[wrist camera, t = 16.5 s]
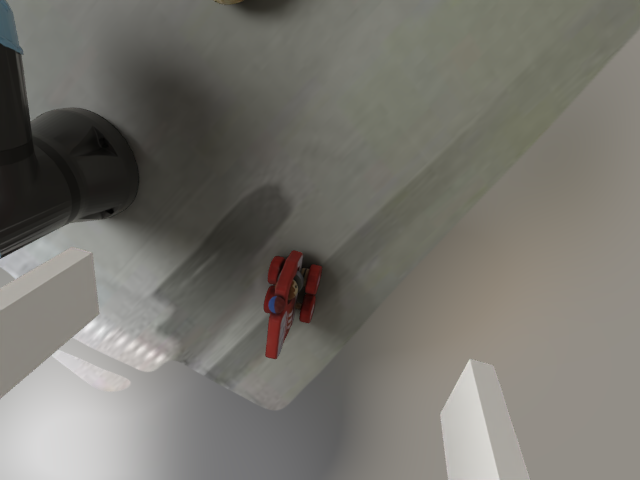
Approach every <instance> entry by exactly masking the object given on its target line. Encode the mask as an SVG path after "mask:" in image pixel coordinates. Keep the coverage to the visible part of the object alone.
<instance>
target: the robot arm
mask: <svg viewBox="0 0 640 480" xmlns="http://www.w3.org/2000/svg"><path fill="white" fill-rule="evenodd" d="M21 54H22V55H24V54H23V50H22V48H21V47H20V46H19V41H18V36H17V31H16V26H15V21H14V16H13V12H12V10H11V8H10V6H9V4H8V3H7V2H6V0H0V259H1V258H3V257H5V256H7V255H8V254H10V253H12V252H14V251H16V250H18V249H20V248H22V247H24V246H26V245H28V244H30V243H32V242H34V241H35V240H37V239H39V238H41V237H43V236H45V235H47V234H49V233H51V232H53V231H55V230H57V229H59V228H60V227H62V226H64V225H66V224H69V223H74V222H83V221H92V220H101V219H106V218H109V217H112V216H114V215H116V214H117V213H119V212H121V211H123V210H124V209H126V208H127V207H128V206H129V205H130V204H131V203H132V202H133V200H134V198H135V196H136V193H137V190H138V183H139V176H138V169H137V164H136V161H135V158H134V156H133V153H132V151H131V149H130V147H129V146H128V144H127V142H126V141H125V139H124V138H123V137H122V135H121V134H120V133H119V132H118V131H117V130H116V129H115V128H114V127H113V126H112V125H111V124H110V123H109V122H107V121H106V120H105V119H103V118H102V117H100V116H99V115H97V114H95V113H93V112H90V111H88V110H84V109H80V108H63V109H56V110H51V111H48V112H45V113H43V114H41V115H40V116H38V117H37V118H36V119H34V120H32V121H31V122H30V115H29V108H28V100H27V93H26V85H25V78H24V70H23V63H22V55H21ZM98 315H99V306H98V297H97V288H96V280H95V271H94V262H93V254H92V252H89V251H85V250H82V249H78V248H74V247H71V248H69V249H68V250H66V251H64V252H62V253H61V254H59V255H57V256H55V257H54V258H52V259H50V260H49V261H47V262H45V263H43V264H42V265H40V266H38V267H36V268H35V269H33V270H31V271H29V272H28V273H26V274H24V275H23V276H21V277H19V278H17V279H16V280H14V281H12V282H10V283H9V284H7V285H5V286H4V287H2V288H0V399H1V398H2V397H3V396H4V395H5V394H6V393H8V392H9V391H10V390H11V389H12V388H13V387H15V386H16V385H17V384H18V383H19V382H20V381H22V380H23V379H24V378H25V377H26V376H27V375H29V374H30V373H31V372H32V371H33V370H34V369H36V368H37V367H38V366H39V365H40V364H41V363H43V362H44V361H45V360H46V359H47V358H48V357H50V356H51V355H52V354H53V353H54V352H55V351H57V350H58V349H59V348H60V347H61V346H63V345H64V344H65V343H66V342H67V341H68V340H69V339H70V338H72V337H73V336H74V335H75V334H77V333H78V332H79V331H80V330H81V329H82V328H84V327H85V326H86V325H87V324H88V323H89V322H91V321H92V320H93V319H94V318H95V317H96V316H98ZM440 417H441V426H442V434H443V442H444V450H445V459H446V467H447V474H448V480H530V477H529V474H528V471H527V468H526V465H525V461H524V458H523V455H522V452H521V449H520V446H519V443H518V440H517V437H516V433H515V431H514V427H513V424H512V421H511V418H510V414H509V411H508V408H507V405H506V402H505V399H504V396H503V392H502V389H501V386H500V383H499V380H498V377H497V374H496V371H495V368H494V365H491V364H487V363H484V362H480V361H476V360H473V359H469V361H468V363H467V365H466V367H465V368H464V370H463V372H462V374H461V376H460V378H459V380H458V381H457V383H456V385H455V387H454V389H453V391H452V393H451V395H450V397H449V398H448V400H447V402H446V404H445V406H444V408H443V409H442V412H441V413H440Z"/></svg>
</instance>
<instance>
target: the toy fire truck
mask: <svg viewBox="0 0 640 480" xmlns="http://www.w3.org/2000/svg"><path fill="white" fill-rule="evenodd" d="M302 259H303V253H301V252H298V251H295V250H292V251H291V253H290V255H289V256H288V258H287V259H286V260H285V258H284V257H280V256H275V257H274V258H273V260H272V262H271V264H270V267H269V272H268V282H269V283H270V284H273V285H272V286H270V287H269V289H268V291H267V294H266V297H265V301H264V311H265V312H266V313H270V317H269V324H268V334H267V345H266V354H265V356H266V357H268V358H272V359H277V358H278V356H279V353H280V351H281V349H282V345H283V343H284V340H285V338H286V336H287V334H288V332H289V329H290V327H291V325H292V323H293V320H294V316H295V310H296V309H300V310H301V311H300V318H299V319H300V321H301V322H305V323H309V322H310V321H311V318H312V315H313V311H314V306H315V300H316V297H315V296H314V294H316V292H317V289H318V286H319V282H320V278H321V273H322V267H321V266H319V265H315V264H313V265H311V266H310V269H307V268H303V269H301V266H302ZM274 285H275V286H274ZM303 286H304V287H305V292H306V293H309V294H306V295H305V296H304V299H303V303H298V302H297V295H298V292H299V291H300V290H301V289H302V287H303ZM311 294H313V295H311Z"/></svg>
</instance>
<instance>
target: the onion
mask: <svg viewBox="0 0 640 480" xmlns="http://www.w3.org/2000/svg"><path fill="white" fill-rule="evenodd" d="M213 1H215V2H217V3H219V4H224V5H231V4H235V3H239V2H242V1H244V0H213Z"/></svg>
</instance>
